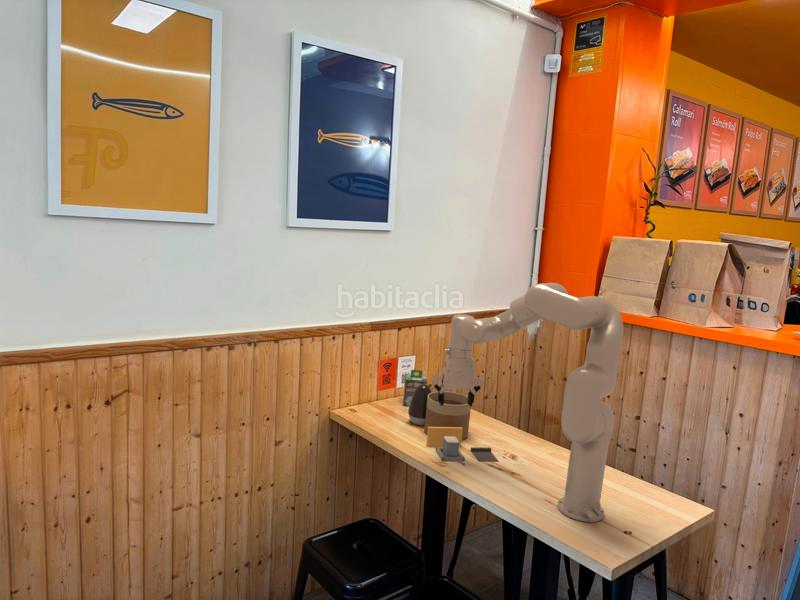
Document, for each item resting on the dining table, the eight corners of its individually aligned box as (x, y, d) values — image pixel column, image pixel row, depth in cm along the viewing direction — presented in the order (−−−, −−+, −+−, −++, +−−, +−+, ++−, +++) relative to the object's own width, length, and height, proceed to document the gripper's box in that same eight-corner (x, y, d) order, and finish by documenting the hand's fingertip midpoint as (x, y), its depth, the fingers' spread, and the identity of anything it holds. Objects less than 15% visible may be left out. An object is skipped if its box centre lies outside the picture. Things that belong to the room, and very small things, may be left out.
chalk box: (424, 401, 249) (427, 367, 247) (425, 408, 240) (428, 373, 238) (402, 399, 249) (405, 365, 247) (402, 406, 240) (406, 371, 238)
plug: (457, 460, 190) (459, 442, 189) (445, 460, 189) (447, 442, 189) (453, 454, 195) (455, 436, 194) (441, 453, 194) (443, 436, 193)
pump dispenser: (439, 423, 224) (442, 384, 221) (425, 430, 215) (429, 390, 213) (416, 416, 229) (419, 378, 227) (402, 423, 220) (405, 384, 218)
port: (470, 462, 189) (473, 441, 188) (435, 462, 187) (437, 441, 186) (459, 446, 202) (462, 427, 201) (426, 446, 199) (428, 426, 198)
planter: (436, 444, 202) (440, 406, 200) (416, 428, 216) (420, 392, 214) (475, 440, 209) (479, 403, 207) (454, 425, 223) (457, 390, 221)
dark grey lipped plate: (498, 462, 191) (499, 458, 191) (478, 462, 189) (479, 458, 189) (489, 451, 200) (490, 447, 199) (470, 451, 198) (470, 447, 198)
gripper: (437, 355, 182) (432, 408, 184) (489, 357, 185) (484, 409, 188) (431, 349, 189) (426, 400, 192) (482, 351, 193) (477, 401, 195)
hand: (455, 404), depth 190 cm, fingers open, 9 cm apart
